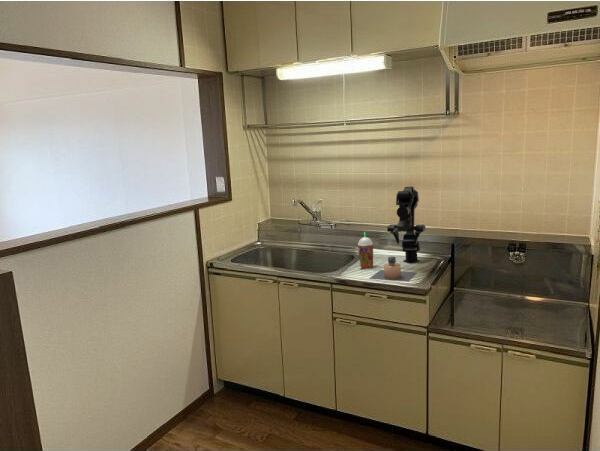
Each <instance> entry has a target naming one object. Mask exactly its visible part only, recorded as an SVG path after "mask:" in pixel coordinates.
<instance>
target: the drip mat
mask: <svg viewBox="0 0 600 451" xmlns="http://www.w3.org/2000/svg"><path fill="white" fill-rule="evenodd" d="M418 273H419V272H417V271H402V270H401V278H399V279H386V278H385V276H384V269H380V270H379V271H378V270H377V272H375V274H373V275H371V276H370V277H369V278H368V279H369V280H380V281H381V280H382V281H395V282H396V281H397V282H411V280H412V279H413V278H414V277H415V276H416V275H417V274H418Z"/></svg>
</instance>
